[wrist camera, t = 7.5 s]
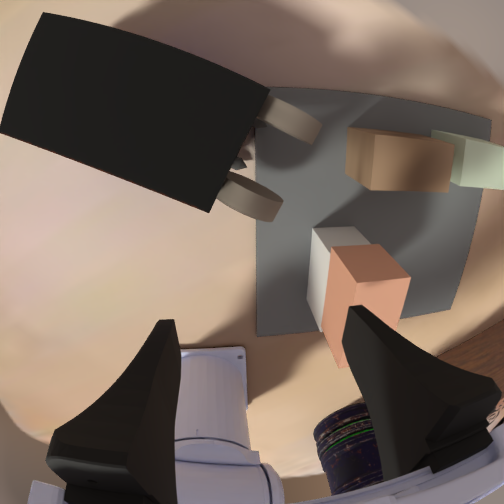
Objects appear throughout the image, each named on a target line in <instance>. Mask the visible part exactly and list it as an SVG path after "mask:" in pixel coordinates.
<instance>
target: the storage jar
mask: <svg viewBox="0 0 504 504" xmlns="http://www.w3.org/2000/svg"><path fill="white" fill-rule="evenodd" d="M313 435H314V439H315V441H316V442H317V443H316V446H317V453H318V457H319V460H320V461H321V464H322V468H323V471H324V472H326V475H327V479H328V482H329V486H330V489H331V493H332V495H331V496H334V495H338V494H343V493H347V492H351V491H355V490H358V489H362V488H366V487H369V486H373V485H376V484H379V483H382V482H384V480H383V473H382V466H381V460H380V455H379V450H378V445H377V441H376V437H375V433H374V429H373V425H372V422H371V418H370V415H369V411H368V408H367V406H366V403H359V404H355V405H351V406H348V407H345V408H343V409H340V410H338V411H336V412H334V413H332V414H330V415H329V416H327V417H326V418H324V419H323V420H322V421H321V422H320V423H319V424H318V425H317V426H316V428H315V429H314V433H313Z"/></svg>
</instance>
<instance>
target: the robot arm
mask: <svg viewBox="0 0 504 504" xmlns="http://www.w3.org/2000/svg"><path fill="white" fill-rule="evenodd" d="M341 342H342V346H343V349H344V353H345V356H346V359H347V362H348V364H349V367H350V369H351V371H352V374H353V376H354V378H355V380H356V382H357V385H358V387H359V389H360V391H361V394H362V396H363V398H364V400H365V403H366V406H367V408H368V411H369V415H370V418H371V422H372V425H373V429H374V433H375V437H376V441H377V445H378V450H379V455H380V460H381V466H382V473H383V480H384V482H382V483H379V484H376V485H373V486H369V487H366V488H362V489H358V490H355V491H351V492H347V493H343V494H338V495H334V496H329V497H325V498H320V499H315V500H309V501H303V502H298V503H291V504H474V503H475V502H477V501H479V500H480V499H482V498H484V497H485V496H487V495H488V494H490V493H491V492H493V491H494V490H496V489H498V488H499V487H500V486H502V485H503V484H504V423H503V424H501V425H500V426H498V427H496V428H495V429H493V430H492V431H491V432H490V433H489V432H488V430H487V427H488V426H489V422H488V421H487V419H486V418H487V417H488V416H489V415H490V413H491V412H492V411H493V410H494V408H495V407H496V406H497V404H498V403H499V401H500V399H501V396H502V391H501V390H500V388H499V387H498V386H497V384H496V383H495V381H494V380H493V378H491V377H487V376H483V375H479V374H476V373H472V372H469V371H466V370H464V369H461V368H458V367H456V366H453V365H451V364H449V363H447V362H444V361H442V360H440V359H438V358H436V357H434V356H432V355H431V354H429V353H427V352H426V351H424V350H422V349H420V348H419V347H417V346H416V345H414V344H413V343H411V342H410V341H408V340H407V339H405V338H404V337H403V336H401V335H400V334H399V333H397V332H396V331H395V330H393V329H392V328H391V327H390V326H388V325H387V324H386V323H384V322H383V321H382V320H381V319H380V318H378V317H377V316H376V315H375V314H373V313H372V312H371V311H370V310H368V309H367V308H366V307H364V306H363V305H355V306H349V308H348V313H347V318H346V323H345V327H344V332H343V336H342V341H341ZM239 355H242V356H239ZM247 409H248V402H247V375H246V351H245V348H244V347H240V346H239V347H223V348H205V349H180V346H179V341H178V336H177V332H176V327H175V322H174V319H167V320H159V321H158V322H157V323H156V325H155V327H154V328H153V330H152V332H151V333H150V335H149V337H148V338H147V340H146V341H145V343H144V345H143V346H142V347H141V349H140V350H139V352H138V353H137V355H136V356H135V358H134V359H133V360H132V362H131V363H130V364H129V366H128V367H127V368H126V370H125V371H124V372H123V373H122V375H121V376H120V377H119V378H118V379H117V380H116V382H115V383H114V384H113V385H112V386H111V387H110V388H109V389H108V390H107V391H106V392H105V393H104V394H103V395H102V396H101V397H100V398H99V399H98V400H96V401H95V402H94V403H93V404H92V405H91V406H89V407H88V408H87V409H86V410H84V411H83V412H82V413H80V414H79V415H78V416H76V417H75V418H73V419H72V420H70V421H69V422H67V423H65V424H64V425H62V426H60V427H59V428H57V429H55V431H54V433H53V436H52V438H51V442H50V445H49V449H48V453H47V457H46V463H47V465H48V466H49V467H50V468H51V470H52V471H54V472H55V473H56V474H57V475H58V476H59V477H60V478H61V479H63V480H64V481H65V482H66V483H67V485H66V490H65V489H63V488H60V487H58V486H54V485H51V484H47V483H44V482H40V481H37V480H33V482H32V486H31V490H30V494H29V499H28V504H284V491H283V486H282V482H281V479H280V477H279V475H278V474H277V472H276V471H275V470H274V469H273V468H272V466H271V465H269V464H268V463H260V457H259V451H252V450H251V446H250V438H249V430H248V422H247V414H246V410H247Z"/></svg>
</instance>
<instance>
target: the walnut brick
mask: <svg viewBox="0 0 504 504" xmlns="http://www.w3.org/2000/svg"><path fill="white" fill-rule="evenodd" d="M454 147H455V145H454V144H451V143H448V142H445V141H441V140H438V139H435V138H431V137H428V136H424V135H420V134H413V133H405V132H397V131H388V130H378V129H367V128H355V127H347V147H346V164H345V174H346V175H348V176H349V177H351V178H353V179H354V180H356V181H357V182H359V183H360V184H362V185H363V186H365V187H366V188H368V189H369V190H383V191H420V192H444V193H448V191H449V185H450V179H451V172H452V164H453V156H454Z"/></svg>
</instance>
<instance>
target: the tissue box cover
mask: <svg viewBox="0 0 504 504" xmlns="http://www.w3.org/2000/svg"><path fill="white" fill-rule="evenodd" d="M437 358H438V359H440V360H442V361H444V362H447V363H449V364H451V365H453V366H456V367H458V368H461V369H464V370H466V371H469V372H472V373H476V374H479V375H483V376H487V377H491V378H493V380H494V381H495V383H496V384H497V386H498V387H499V388H500V390H501V391H502V396H501V399H500V401H499V403H498V404H497V406H496V407H495V408H494V410H493V411H492V412H491V413H490V415H489V416H488V417H487V418H486V419H487V421H488V422H489V426H488V427H487V430H488V432H489V433H490V432H491V431H492V430H493V429H495V428H496V427H498V426H500V425H501V424H503V423H504V319H503V320H502V321H500V322H498V323H497V324H495V325H494V326H492V327H490V328H489V329H487V330H485V331H483V332H482V333H480V334H478V335H477V336H475V337H473V338H471V339H469V340H468V341H466V342H464V343H462V344H460V345H458V346H457V347H455V348H453V349H451V350H449V351H447V352H445V353H443V354H441V355H439V356H437Z"/></svg>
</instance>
